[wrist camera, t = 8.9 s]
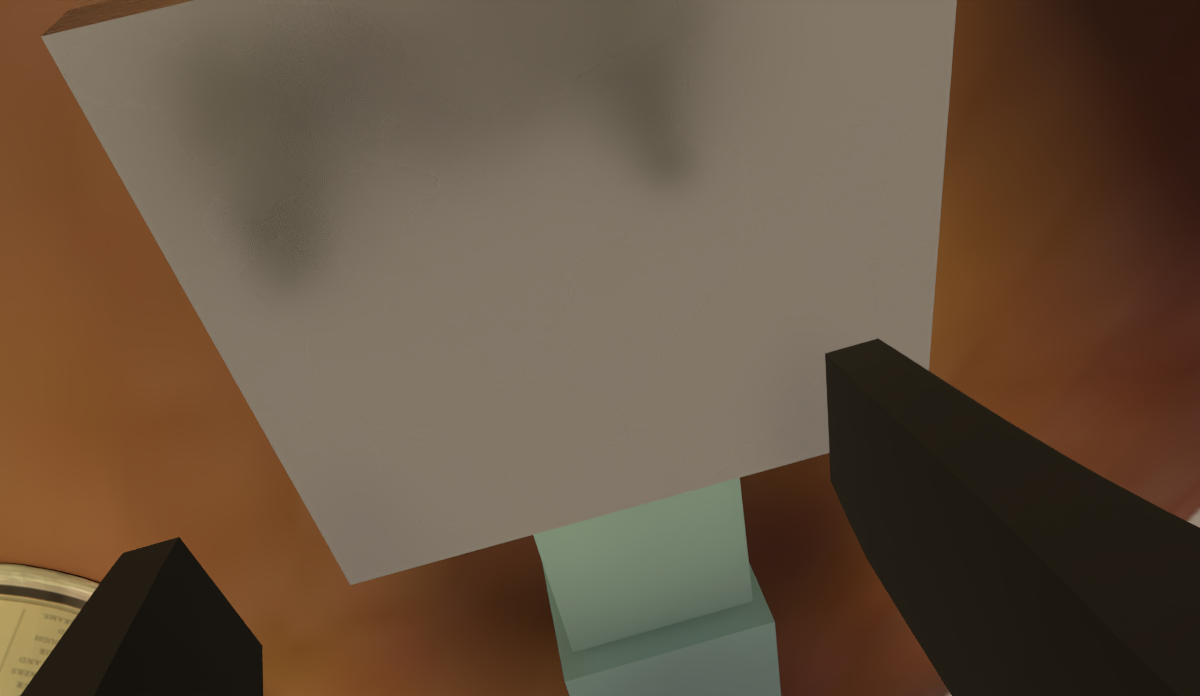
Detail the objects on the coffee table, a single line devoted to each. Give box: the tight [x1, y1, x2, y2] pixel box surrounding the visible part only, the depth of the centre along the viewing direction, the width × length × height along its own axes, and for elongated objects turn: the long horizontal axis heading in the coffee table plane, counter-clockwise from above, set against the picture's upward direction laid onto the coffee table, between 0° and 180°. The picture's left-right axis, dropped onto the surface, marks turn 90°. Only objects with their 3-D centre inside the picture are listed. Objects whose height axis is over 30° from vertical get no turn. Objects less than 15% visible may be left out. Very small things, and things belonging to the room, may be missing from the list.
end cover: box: [533, 478, 781, 696], centre depth 23 cm, size 5×10×5 cm, turn 10°
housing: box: [41, 0, 957, 585], centre depth 15 cm, size 11×10×6 cm
